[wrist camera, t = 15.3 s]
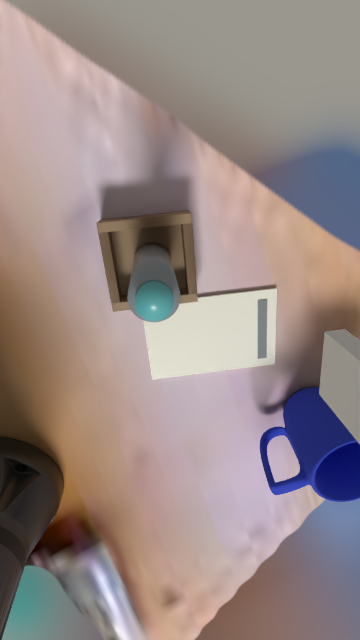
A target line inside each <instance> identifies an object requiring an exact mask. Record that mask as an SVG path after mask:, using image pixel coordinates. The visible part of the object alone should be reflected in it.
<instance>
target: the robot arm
mask: <svg viewBox="0 0 360 640" xmlns="http://www.w3.org/2000/svg"><path fill="white" fill-rule="evenodd" d="M319 395H320V396H321V397H322V398H323V400H324V401H325V402H326V403H327V405H328V406H329V407H330V408H331V409H332V411H333V412H334V413H335V414H336V416H337V417H338V418H339V419H340V421H341V422H342V423H343V424H344V426H345V427H346V428H347V429H348V431H349V432H350V433H351V434H352V435H353V437H354V438H355V439H356V440H357V442H358V443H359V444H360V340H359V339H358V338H356V337H355V336H354V335H352V334H351V333H350V332H348V331H347V330H346V329H341V330H333V331H325V333H324V344H323V355H322V366H321V377H320V388H319ZM63 490H64V482H63V477H62V474H61V472H60V470H59V468H58V467H57V465H56V464H55V463H54V461H53V460H52V459H51V458H50V457H49V456H47V455H46V454H45V453H44V452H42V451H41V450H39V449H37V448H36V447H34V446H32V445H29V444H27V443H24V442H21V441H18V440H14V439H9V438H2V437H0V640H2V637H3V633H4V630H5V627H6V624H7V621H8V617H9V614H10V611H11V608H12V604H13V601H14V598H15V595H16V592H17V589H18V586H19V582H20V579H21V576H22V573H23V569H24V567H25V564H26V561H27V558H28V556H29V555H30V553H31V552H32V550H33V549H34V547H35V546H36V544H37V543H38V541H39V540H40V538H41V537H42V535H43V534H44V532H45V530H46V529H47V527H48V526H49V524H50V523H51V522H52V520H53V519H54V517H55V515H56V513H57V511H58V509H59V505H60V502H61V498H62V494H63Z"/></svg>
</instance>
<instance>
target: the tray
mask: <svg viewBox="0 0 360 640" xmlns="http://www.w3.org/2000/svg"><path fill="white" fill-rule="evenodd" d="M97 229H98V234H99V239H100V245H101V250H102V255H103V261H104V266H105V271H106V277H107V282H108V287H109V293H110V298H111V303H112V309H113V312H114V311H122V310H131V309H130V307H129V304H128V299H127V296H128V289H129V284H130V279H131V273H132V268H133V263H134V258H135V254H136V251H137V250H138V248H139V247H140V246H142V245H143V244H145V243H148V242H156V243H159V244H161V245H163V246H164V247H165V248H166V249H167V250H168V252H169V255H170V258H171V262H172V265H173V269H174V273H175V276H176V280H177V283H178V287H179V290H180V296H181V297H180V304H182V303H190V302H198V297H197V283H196V270H195V257H194V244H193V231H192V217H191V213H190V212H189V211H180V212H170V213H161V214H151V215H142V216H132V217H123V218H113V219H104V220H100V221H99V222H97Z"/></svg>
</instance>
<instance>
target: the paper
mask: <svg viewBox="0 0 360 640" xmlns="http://www.w3.org/2000/svg"><path fill="white" fill-rule="evenodd" d="M276 300H277V288H270V289H261V290H253V291H244V292H236V293H227V294H219V295H210V296H202V297H198V302H190V303H182V304H179V307H178V309H177V310H176V312H175V313H174V314H173V315H172V316H171V317H170V318H168V319H166V320H164V321H160V322H148V321H144V320H143V321H144V327H145V334H146V341H147V347H148V354H149V361H150V367H151V374H152V380H153V379H161V378H169V377H177V376H185V375H192V374H200V373H208V372H216V371H224V370H232V369H239V368H247V367H255V366H263V365H271V364H275V339H276Z"/></svg>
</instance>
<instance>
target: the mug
mask: <svg viewBox="0 0 360 640" xmlns="http://www.w3.org/2000/svg"><path fill="white" fill-rule="evenodd" d="M283 416H284V423H285V428H283V427H273V428H270V429H268V430H267V431H265V432H264V433H263V435H262V437H261V440H260V453H261V459H262V463H263V467H264V471H265V474H266V478H267V481H268V484H269V487H270V489H271V491H272V493H273V494H275V495H280V494H284V493H288V492H291V491H294V490H297V489H299V488H302V487H304V486H306V485H311V486H312V488H313V489H314V491H315V492H316V493H317V494H318V495H319V496H321V497H323V498H325V499H327V500H331V501H336V502H345V501H352V500H356V499H359V498H360V444H359V443H358V442H357V440H356V439H355V438H354V437H353V435H352V434H351V433H350V432H349V431H348V429H347V428H346V427H345V426H344V424H343V423H342V422H341V421H340V419H339V418H338V417H337V416H336V414H335V413H334V412H333V411H332V409H331V408H330V407H329V406H328V405H327V403H326V402H325V401H324V400H323V398H322V397H321V396H320V395H319V387H310V388H305V389H302V390H300V391H298V392H297V393H295V394H294V395H293V396H291V397H290V399H289V400H288V401H287V403H286V405H285V407H284V412H283ZM279 435H285V436H286V437H287V438H288V440H289V441H290V443H291V446H292V448H293V450H294V452H295V454H296V456H297V459H298V461H299V464H300V472H299V474H298V475H296V476H295V477H292V478H290V479H287V480H284V481H281V482H276V483H275V481H274V479H273V475H272V472H271V469H270V466H269V462H268V457H267V445H268V443H269V441H270V440H271V439H272V438H274V437H276V436H279Z"/></svg>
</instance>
